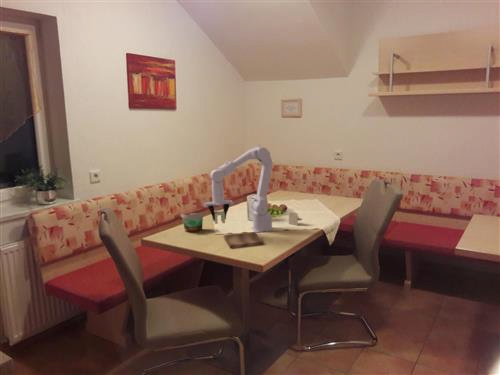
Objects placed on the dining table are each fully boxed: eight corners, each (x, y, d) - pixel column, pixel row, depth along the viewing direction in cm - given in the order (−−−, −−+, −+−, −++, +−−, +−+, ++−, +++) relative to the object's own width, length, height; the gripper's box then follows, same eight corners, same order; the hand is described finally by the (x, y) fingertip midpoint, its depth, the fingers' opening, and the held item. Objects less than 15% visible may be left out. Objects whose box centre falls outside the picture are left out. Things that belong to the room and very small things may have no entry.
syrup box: (253, 217, 245) (252, 193, 242) (261, 219, 241) (260, 194, 238) (247, 220, 241) (246, 195, 238) (255, 221, 237) (254, 196, 234)
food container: (183, 234, 219) (182, 216, 217) (182, 231, 224) (180, 213, 222) (206, 231, 222) (205, 213, 220) (204, 228, 228) (203, 210, 226)
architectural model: (292, 223, 232) (292, 210, 231) (302, 225, 228) (302, 212, 227) (288, 224, 230) (288, 211, 228) (299, 226, 226) (299, 213, 224)
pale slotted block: (223, 220, 217) (223, 210, 216) (225, 223, 212) (224, 212, 211) (213, 221, 216) (213, 211, 215) (215, 223, 211) (214, 213, 210)
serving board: (254, 234, 214) (254, 231, 213) (263, 244, 198) (263, 241, 198) (224, 238, 210) (223, 235, 210) (230, 248, 195) (230, 245, 194)
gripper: (204, 196, 205) (206, 222, 208) (233, 193, 209) (234, 219, 211) (202, 193, 212) (204, 219, 215) (230, 191, 215) (231, 216, 218)
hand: (219, 219), depth 214 cm, fingers closed on pale slotted block, 5 cm apart
